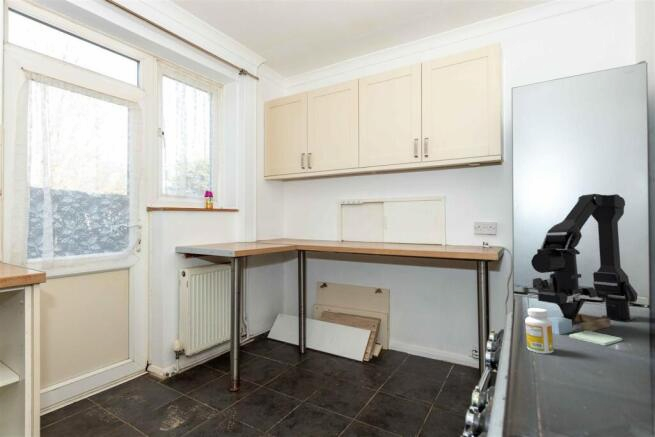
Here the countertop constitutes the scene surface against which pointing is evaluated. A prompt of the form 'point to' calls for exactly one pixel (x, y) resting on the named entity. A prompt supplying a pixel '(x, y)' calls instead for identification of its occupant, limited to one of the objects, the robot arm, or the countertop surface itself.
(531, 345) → the supplement bottle
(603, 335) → the mat
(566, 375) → the countertop surface
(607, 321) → the u-shaped frame
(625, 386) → the countertop surface
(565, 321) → the block
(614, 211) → the robot arm
